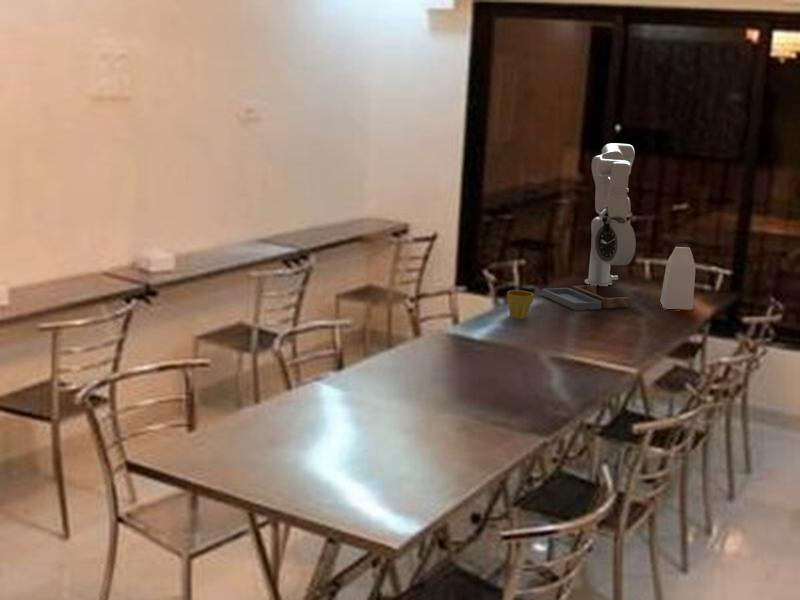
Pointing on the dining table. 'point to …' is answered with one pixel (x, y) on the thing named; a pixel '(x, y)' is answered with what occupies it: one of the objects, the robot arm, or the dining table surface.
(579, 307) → the slate tray
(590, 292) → the walnut stall
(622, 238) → the alarm clock
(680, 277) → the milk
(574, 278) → the dining table surface
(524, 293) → the plant pot
